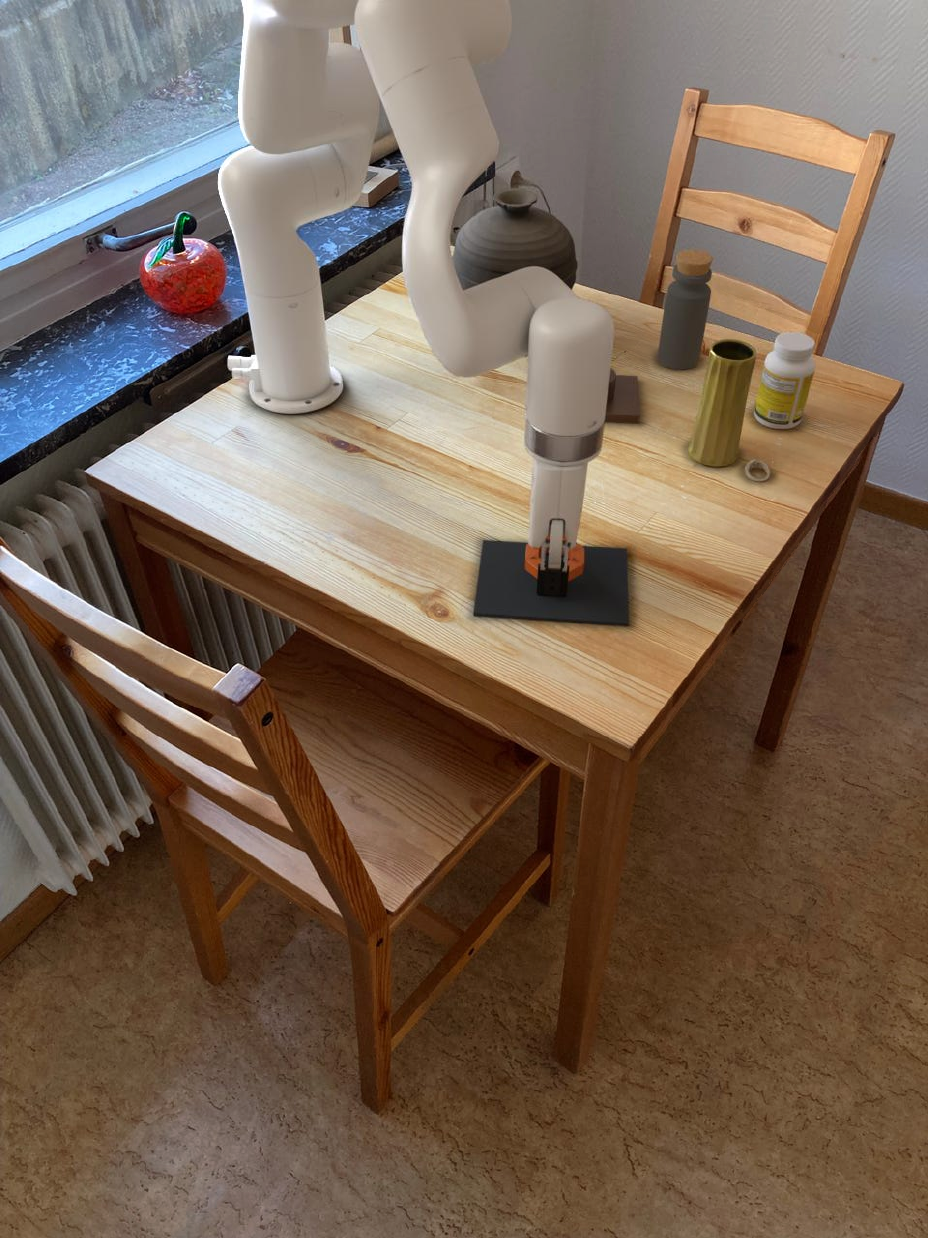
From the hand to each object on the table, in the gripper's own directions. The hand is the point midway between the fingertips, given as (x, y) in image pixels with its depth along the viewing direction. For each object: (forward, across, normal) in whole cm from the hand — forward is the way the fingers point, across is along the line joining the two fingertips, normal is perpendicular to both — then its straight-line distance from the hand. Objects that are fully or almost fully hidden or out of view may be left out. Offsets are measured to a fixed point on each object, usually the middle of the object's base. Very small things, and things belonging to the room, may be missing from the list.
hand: (552, 571), depth 107 cm
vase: (+1, -25, +19) cm, 31 cm away
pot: (+1, -55, -8) cm, 56 cm away
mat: (+1, +1, 0) cm, 1 cm away
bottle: (+1, -48, +16) cm, 51 cm away
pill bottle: (+1, -34, +28) cm, 44 cm away
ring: (+1, -21, +24) cm, 32 cm away
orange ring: (-1, 0, 0) cm, 1 cm away
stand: (+1, -36, +4) cm, 36 cm away
